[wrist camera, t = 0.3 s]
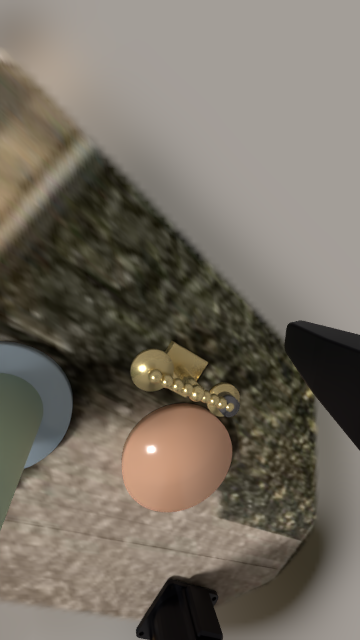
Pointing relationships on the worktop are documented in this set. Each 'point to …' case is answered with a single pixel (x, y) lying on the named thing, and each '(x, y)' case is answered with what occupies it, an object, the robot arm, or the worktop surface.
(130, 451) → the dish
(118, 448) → the worktop surface
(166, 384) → the balance
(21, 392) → the canister
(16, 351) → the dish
